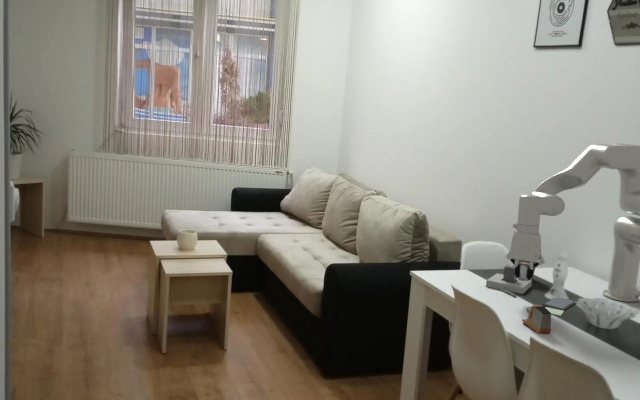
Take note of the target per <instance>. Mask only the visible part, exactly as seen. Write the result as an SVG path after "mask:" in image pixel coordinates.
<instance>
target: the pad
mask: <svg viewBox="0 0 640 400" xmlns="http://www.w3.org/2000/svg"><path fill="white" fill-rule="evenodd" d="M545 308H546V309H547V310H548V311H549V312H551V315H554V316H559V317H561V316H562V315H563V314H564V313H565V310H564V311H562V310H558V309H553V308H549V307H545Z"/></svg>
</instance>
